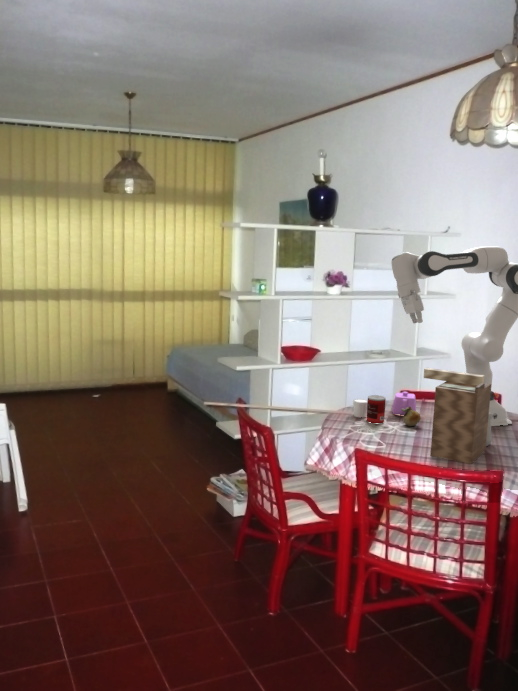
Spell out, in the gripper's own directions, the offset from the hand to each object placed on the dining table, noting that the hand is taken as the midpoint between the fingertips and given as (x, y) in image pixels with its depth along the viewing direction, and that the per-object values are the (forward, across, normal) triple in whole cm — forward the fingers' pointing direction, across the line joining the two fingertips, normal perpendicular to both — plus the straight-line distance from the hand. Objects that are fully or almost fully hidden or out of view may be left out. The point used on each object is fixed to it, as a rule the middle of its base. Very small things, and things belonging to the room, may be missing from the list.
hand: (417, 322), depth 282 cm
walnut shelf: (+50, -29, +5) cm, 58 cm away
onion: (+42, +6, +13) cm, 45 cm away
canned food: (+37, +10, +27) cm, 47 cm away
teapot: (+40, +27, +11) cm, 49 cm away
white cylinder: (+34, +19, +32) cm, 51 cm away
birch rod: (+24, -26, -1) cm, 35 cm away
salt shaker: (+53, -17, -9) cm, 56 cm away
